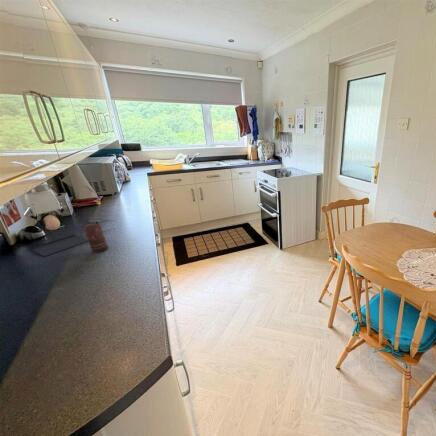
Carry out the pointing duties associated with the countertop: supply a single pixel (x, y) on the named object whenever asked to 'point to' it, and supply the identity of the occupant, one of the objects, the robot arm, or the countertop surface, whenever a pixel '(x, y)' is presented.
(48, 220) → the egg
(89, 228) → the can
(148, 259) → the countertop surface
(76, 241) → the placemat
